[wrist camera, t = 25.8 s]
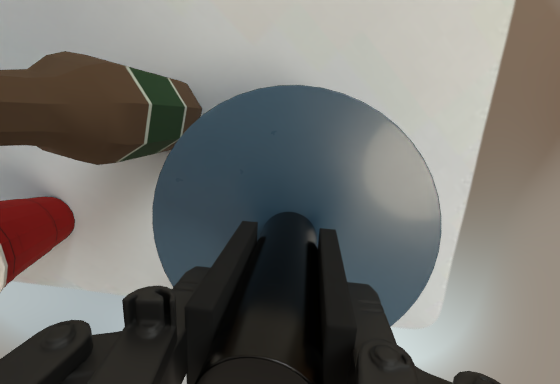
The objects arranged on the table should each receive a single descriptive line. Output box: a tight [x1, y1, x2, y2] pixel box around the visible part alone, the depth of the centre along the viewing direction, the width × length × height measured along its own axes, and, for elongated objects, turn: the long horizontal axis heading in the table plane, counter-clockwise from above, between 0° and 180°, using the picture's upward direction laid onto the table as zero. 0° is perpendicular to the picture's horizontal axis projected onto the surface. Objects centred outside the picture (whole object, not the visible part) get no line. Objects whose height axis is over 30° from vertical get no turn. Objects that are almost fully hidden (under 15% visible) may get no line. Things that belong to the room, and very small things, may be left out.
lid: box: [153, 85, 441, 384], centre depth 11 cm, size 16×16×11 cm
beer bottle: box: [0, 51, 202, 165], centre depth 20 cm, size 8×8×24 cm
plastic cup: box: [0, 197, 75, 292], centre depth 31 cm, size 11×11×12 cm
